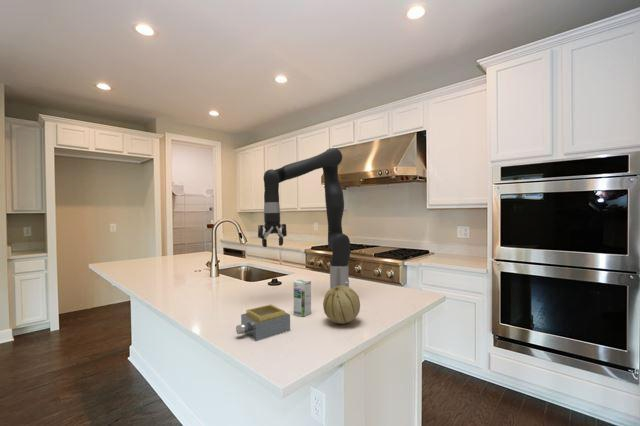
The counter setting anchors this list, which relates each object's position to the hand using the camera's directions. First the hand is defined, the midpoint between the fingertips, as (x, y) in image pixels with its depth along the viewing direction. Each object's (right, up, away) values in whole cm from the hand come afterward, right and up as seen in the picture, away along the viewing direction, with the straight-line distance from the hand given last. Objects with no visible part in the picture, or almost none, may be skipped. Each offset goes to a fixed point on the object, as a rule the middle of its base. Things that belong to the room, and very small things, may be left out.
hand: (273, 246), depth 145 cm
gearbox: (0, -28, -32) cm, 43 cm away
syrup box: (+15, -28, -13) cm, 34 cm away
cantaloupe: (+31, -28, -23) cm, 48 cm away
